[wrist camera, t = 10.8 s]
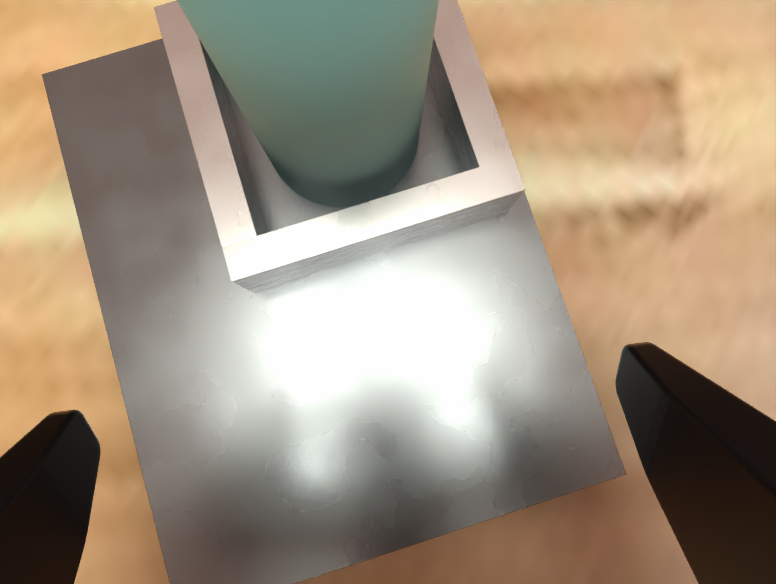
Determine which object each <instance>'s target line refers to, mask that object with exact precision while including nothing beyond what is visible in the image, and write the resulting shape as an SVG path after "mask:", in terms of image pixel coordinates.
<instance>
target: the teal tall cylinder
mask: <svg viewBox="0 0 776 584" xmlns="http://www.w3.org/2000/svg"><path fill="white" fill-rule="evenodd" d="M177 2H178V3H179V5H180V7H181V9H182V10H183V12H184V14H185V15H186V17H187V19H188V21H189V22H190V24H191V26H192V27H193V29H194V31H195V33H196V34H197V36H198V38H199V39H200V41H201V43H202V45H203V46H204V48H205V50H206V51H207V53H208V55H209V57H210V58H211V60H212V62H213V63H214V65H215V67H216V69H217V70H218V72H219V74H220V75H221V77H222V79H223V81H224V82H225V84H226V86H227V87H228V89H229V91H230V93H231V94H232V96H233V98H234V99H235V101H236V103H237V105H238V106H239V108H240V110H241V111H242V113H243V115H244V117H245V118H246V120H247V122H248V123H249V125H250V127H251V129H252V130H253V132H254V134H255V135H256V137H257V139H258V141H259V142H260V144H261V146H262V147H263V149H264V151H265V153H266V154H267V156H268V158H269V159H270V161H271V163H272V165H273V166H274V168H275V170H276V171H277V173H278V175H279V176H280V177H281V179H282V180H283V181H284V182H285V183H286V184H287V185H288V186H289V187H290V188H291V189H292V190H293V191H295V192H296V193H297V194H299V195H300V196H302V197H304V198H305V199H307V200H310V201H312V202H314V203H317V204H321V205H325V206H330V207H353V206H356V205H359V204H362V203H366V202H369V201H372V200H375V199H378V198H380V197H382V196H384V195H385V194H387V193H388V192H389V191H391V190H392V189H393V188H394V187H395V186H396V185H397V184H398V183H399V182H400V181H401V180H402V179H403V177H404V176H405V175H406V173H407V172H408V170H409V168H410V167H411V165H412V162H413V160H414V158H415V154H416V151H417V147H418V140H419V133H420V126H421V119H422V112H423V105H424V98H425V92H426V85H427V78H428V71H429V64H430V57H431V50H432V44H433V37H434V30H435V23H436V16H437V9H438V2H439V0H177Z"/></svg>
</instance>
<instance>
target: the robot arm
mask: <svg viewBox="0 0 776 584" xmlns="http://www.w3.org/2000/svg"><path fill="white" fill-rule="evenodd" d="M616 391H617V394H618V397H619V400H620V403H621V406H622V409H623V411H624V414H625V417H626V420H627V423H628V426H629V428H630V431H631V434H632V437H633V440H634V443H635V446H636V448H637V451H638V454H639V457H640V460H641V462H642V465H643V468H644V470H645V473H646V475H647V478H648V480H649V482H650V484H651V486H652V489H653V491H654V493H655V495H656V497H657V499H658V501H659V503H660V505H661V507H662V509H663V511H664V513H665V515H666V517H667V519H668V522H669V524H670V526H671V528H672V530H673V532H674V534H675V536H676V538H677V540H678V542H679V544H680V546H681V548H682V550H683V552H684V555H685V557H686V559H687V561H688V563H689V565H690V567H691V569H692V571H693V573H694V575H695V577H696V579H697V581H698V583H699V584H776V421H775V420H773V419H771V418H770V417H768V416H767V415H765V414H763V413H762V412H760V411H759V410H757V409H756V408H754V407H752V406H751V405H749V404H748V403H746V402H744V401H743V400H741V399H740V398H738V397H737V396H735V395H733V394H732V393H730V392H729V391H727V390H725V389H724V388H722V387H721V386H719V385H718V384H716V383H714V382H713V381H711V380H710V379H708V378H706V377H705V376H703V375H702V374H700V373H699V372H697V371H695V370H694V369H692V368H691V367H689V366H687V365H686V364H684V363H683V362H681V361H680V360H678V359H676V358H675V357H673V356H672V355H670V354H668V353H667V352H665V351H664V350H662V349H661V348H659V347H657V346H656V345H654V344H652V343H649V342H644V343H635V344H628V345H626V346H625V347H624V348H623V350H622V353H621V357H620V362H619V366H618V371H617V375H616ZM99 460H100V444H99V441H98V439H97V437H96V436H95V434H94V432H93V431H92V429H91V427H90V425H89V424H88V422H87V420H86V419H85V417H84V415H83V414H82V413H81V412H80V411H78V410H68V411H59V412H54V413H51V414H49V415H48V416H47V417H45V418H44V419H43V420H42V421H41V422H40V423H39V424H37V425H36V426H35V427H34V428H33V429H32V430H31V431H30V432H28V433H27V434H26V435H25V436H24V437H23V438H22V439H21V440H19V441H18V442H17V443H16V444H15V445H14V446H13V447H11V448H10V449H9V450H8V451H7V452H6V453H5V454H4V455H2V456H1V457H0V584H74V581H75V578H76V574H77V571H78V567H79V564H80V560H81V557H82V553H83V549H84V545H85V541H86V536H87V531H88V525H89V519H90V513H91V507H92V501H93V496H94V490H95V484H96V478H97V472H98V466H99Z"/></svg>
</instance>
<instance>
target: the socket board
mask: <svg viewBox="0 0 776 584" xmlns="http://www.w3.org/2000/svg"><path fill="white" fill-rule="evenodd" d="M154 10H155V13H156V17H157V20H158V24H159V27H160V31H161V35H162V38H163V39H159V40H156V41H153V42H149V43H146V44H143V45H139V46H136V47H133V48H129V49H126V50H123V51H119V52H116V53H112V54H109V55H106V56H102V57H99V58H96V59H92V60H89V61H86V62H82V63H79V64H76V65H72V66H69V67H65V68H62V69H59V70H55V71H52V72H49V73H45V74H42V77H43V81H44V85H45V89H46V93H47V97H48V101H49V104H50V108H51V112H52V116H53V120H54V124H55V128H56V132H57V136H58V140H59V144H60V148H61V152H62V156H63V160H64V164H65V168H66V172H67V176H68V180H69V184H70V188H71V192H72V196H73V200H74V204H75V208H76V212H77V216H78V220H79V224H80V228H81V232H82V235H83V239H84V243H85V247H86V251H87V255H88V259H89V263H90V267H91V271H92V275H93V279H94V283H95V287H96V291H97V295H98V299H99V303H100V307H101V311H102V315H103V319H104V323H105V327H106V331H107V335H108V339H109V343H110V347H111V351H112V355H113V359H114V363H115V366H116V370H117V374H118V378H119V382H120V386H121V390H122V394H123V398H124V402H125V406H126V410H127V414H128V418H129V422H130V426H131V430H132V434H133V438H134V442H135V446H136V450H137V454H138V458H139V462H140V466H141V470H142V474H143V478H144V482H145V486H146V490H147V494H148V497H149V501H150V505H151V509H152V513H153V517H154V521H155V525H156V529H157V533H158V537H159V541H160V545H161V549H162V553H163V557H164V561H165V565H166V569H167V573H168V577H169V581H170V584H295V583H298V582H301V581H304V580H307V579H311V578H314V577H317V576H320V575H323V574H326V573H329V572H332V571H335V570H338V569H341V568H344V567H347V566H350V565H353V564H356V563H359V562H362V561H365V560H368V559H371V558H374V557H377V556H380V555H383V554H386V553H389V552H392V551H395V550H398V549H401V548H404V547H407V546H410V545H414V544H417V543H420V542H423V541H426V540H429V539H432V538H435V537H438V536H441V535H444V534H447V533H450V532H453V531H456V530H459V529H462V528H465V527H468V526H471V525H474V524H477V523H480V522H483V521H486V520H489V519H492V518H495V517H498V516H501V515H504V514H507V513H510V512H513V511H517V510H520V509H523V508H526V507H529V506H532V505H535V504H538V503H541V502H544V501H547V500H550V499H553V498H556V497H559V496H562V495H565V494H568V493H571V492H574V491H577V490H580V489H583V488H586V487H589V486H592V485H595V484H598V483H601V482H604V481H607V480H610V479H613V478H616V477H620V476H623V475H626V473H625V470H624V467H623V464H622V461H621V459H620V456H619V453H618V450H617V448H616V445H615V442H614V439H613V437H612V434H611V431H610V428H609V425H608V423H607V420H606V417H605V414H604V412H603V409H602V406H601V403H600V400H599V398H598V395H597V392H596V389H595V387H594V384H593V381H592V378H591V375H590V373H589V370H588V367H587V364H586V362H585V359H584V356H583V353H582V350H581V348H580V345H579V342H578V339H577V337H576V334H575V331H574V328H573V325H572V323H571V320H570V317H569V314H568V312H567V309H566V306H565V303H564V300H563V298H562V295H561V292H560V289H559V287H558V284H557V281H556V278H555V275H554V273H553V270H552V267H551V264H550V262H549V259H548V256H547V253H546V250H545V248H544V245H543V242H542V239H541V237H540V234H539V231H538V228H537V225H536V223H535V220H534V217H533V214H532V212H531V209H530V206H529V203H528V200H527V198H526V195H525V192H524V191H525V187H524V185H523V182H522V179H521V176H520V174H519V171H518V168H517V165H516V162H515V160H514V157H513V154H512V151H511V149H510V146H509V143H508V140H507V138H506V135H505V132H504V129H503V126H502V124H501V121H500V118H499V115H498V113H497V110H496V107H495V104H494V101H493V99H492V96H491V93H490V90H489V88H488V85H487V82H486V79H485V77H484V74H483V71H482V68H481V65H480V63H479V60H478V57H477V54H476V52H475V49H474V46H473V43H472V40H471V38H470V35H469V32H468V29H467V27H466V24H465V21H464V18H463V15H462V13H461V10H460V7H459V4H458V2H457V0H439V2H438V9H437V16H436V23H435V30H434V37H433V44H432V50H431V57H430V64H429V71H428V78H427V85H426V92H425V98H424V105H423V112H422V119H421V126H420V133H419V140H418V147H417V151H416V154H415V158H414V160H413V162H412V165H411V167H410V168H409V170H408V172H407V173H406V175H405V176H404V177H403V179H402V180H401V181H400V182H399V183H398V184H397V185H396V186H395V187H394V188H393V189H392V190H391V191H389V192H388V193H387V194H385V195H384V196H382V197H380V198H378V199H375V200H372V201H369V202H366V203H362V204H359V205H356V206H353V207H330V206H325V205H321V204H317V203H314V202H312V201H310V200H307V199H305V198H304V197H302V196H300V195H299V194H297V193H296V192H295V191H293V190H292V189H291V188H290V187H289V186H288V185H287V184H286V183H285V182H284V181H283V180H282V179H281V177H280V176H279V175H278V173H277V171H276V170H275V168H274V166H273V165H272V163H271V161H270V159H269V158H268V156H267V154H266V153H265V151H264V149H263V147H262V146H261V144H260V142H259V141H258V139H257V137H256V135H255V134H254V132H253V130H252V129H251V127H250V125H249V123H248V122H247V120H246V118H245V117H244V115H243V113H242V111H241V110H240V108H239V106H238V105H237V103H236V101H235V99H234V98H233V96H232V94H231V93H230V91H229V89H228V87H227V86H226V84H225V82H224V81H223V79H222V77H221V75H220V74H219V72H218V70H217V69H216V67H215V65H214V63H213V62H212V60H211V58H210V57H209V55H208V53H207V51H206V50H205V48H204V46H203V45H202V43H201V41H200V39H199V38H198V36H197V34H196V33H195V31H194V29H193V27H192V26H191V24H190V22H189V21H188V19H187V17H186V15H185V14H184V12H183V10H182V9H181V7H180V5H179V3H178V2H177V1H174V2H170V3H167V4H164V5H160V6H157V7H154Z"/></svg>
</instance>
